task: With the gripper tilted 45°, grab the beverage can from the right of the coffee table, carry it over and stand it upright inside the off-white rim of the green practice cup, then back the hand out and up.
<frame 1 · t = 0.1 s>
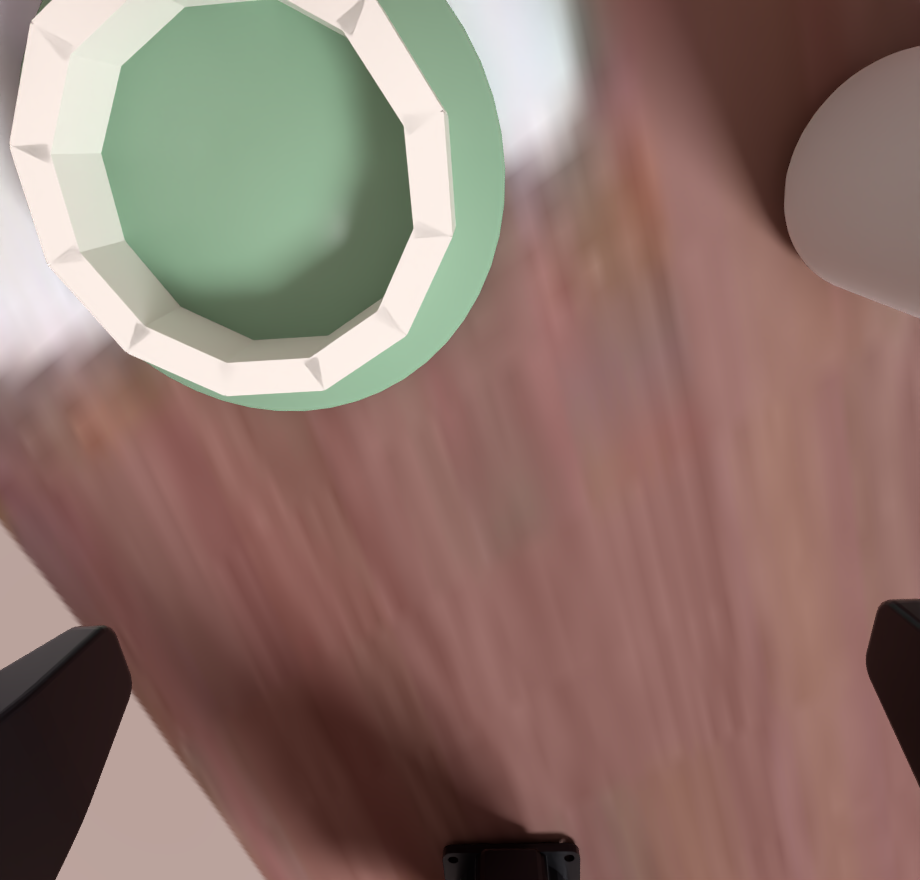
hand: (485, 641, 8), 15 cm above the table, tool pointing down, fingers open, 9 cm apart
beverage can: (882, 176, 19), on the table
practice cup: (269, 185, 19), on the table
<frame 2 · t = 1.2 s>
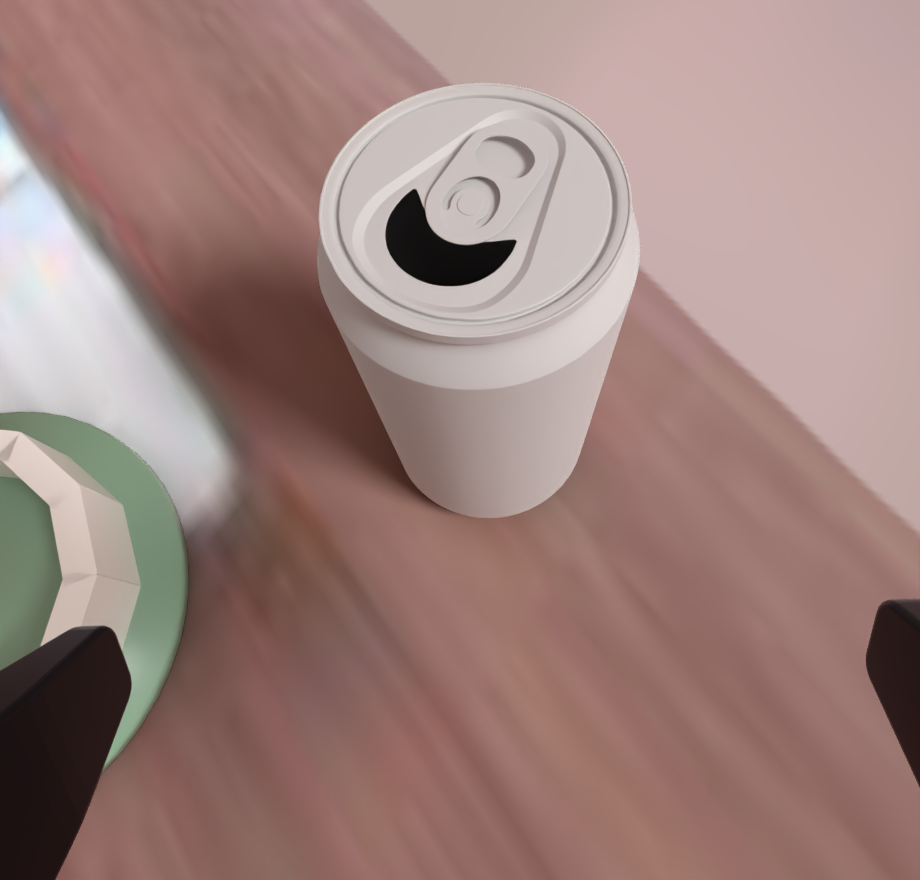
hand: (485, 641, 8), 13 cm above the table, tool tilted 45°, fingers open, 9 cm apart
beverage can: (489, 436, 23), on the table
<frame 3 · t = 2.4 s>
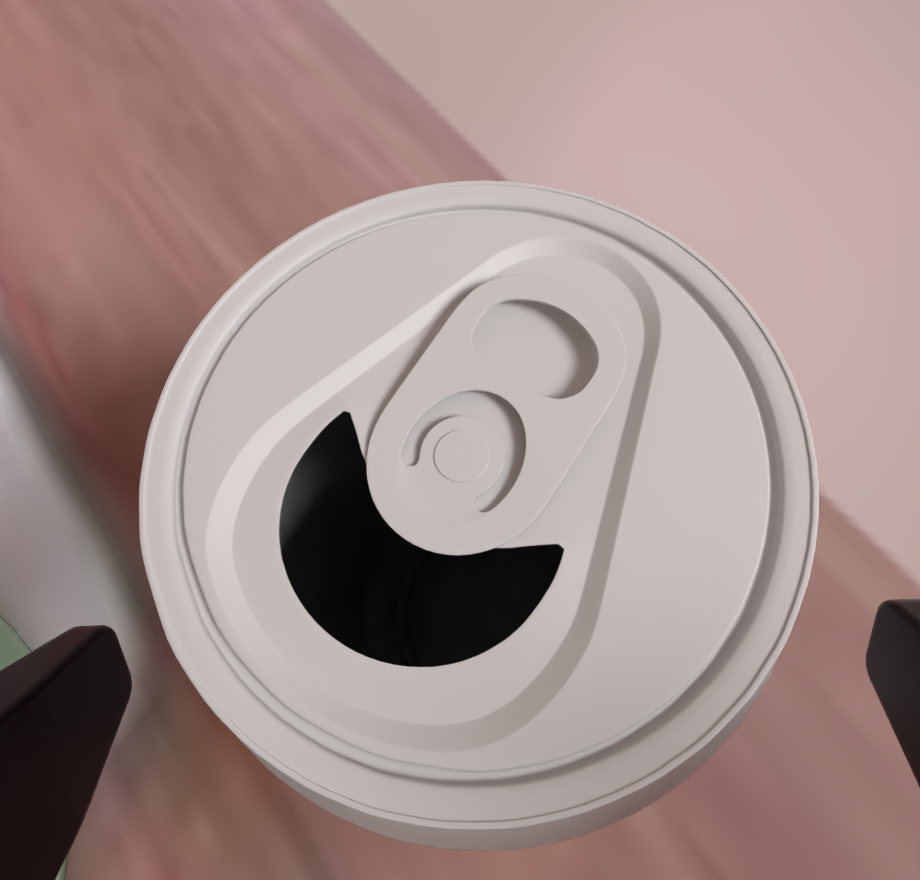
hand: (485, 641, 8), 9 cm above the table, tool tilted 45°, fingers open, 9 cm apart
beverage can: (494, 608, 17), on the table
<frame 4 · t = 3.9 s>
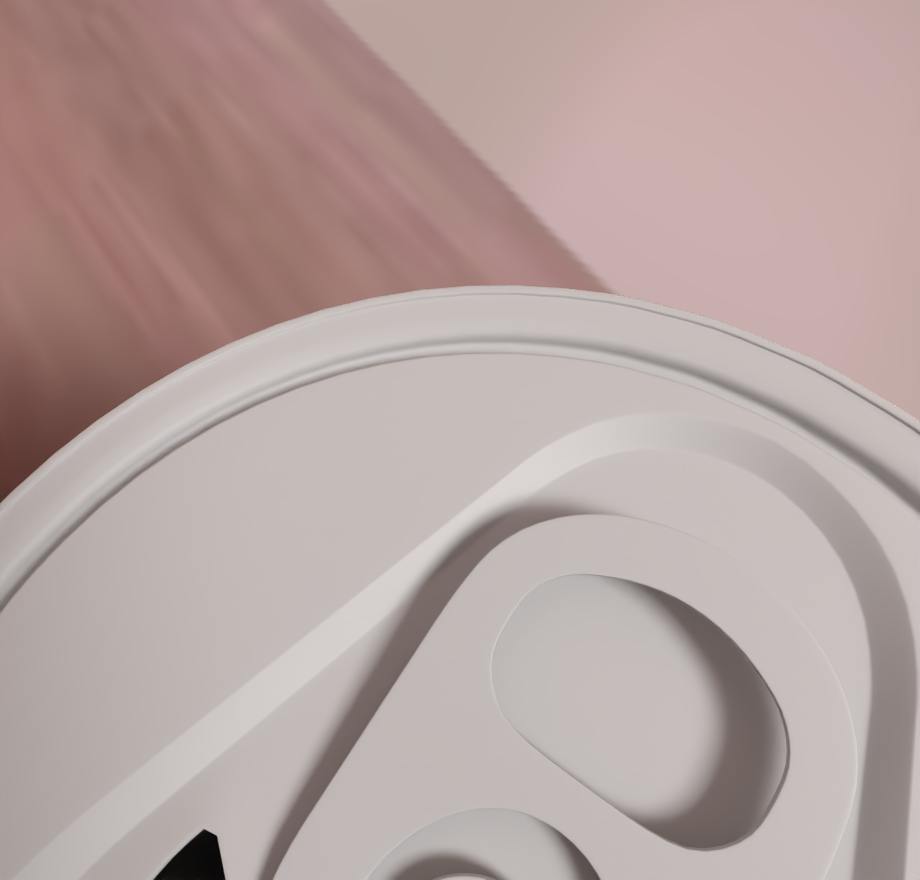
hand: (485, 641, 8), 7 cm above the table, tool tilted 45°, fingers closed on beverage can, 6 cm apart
beverage can: (502, 729, 14), on the table, touching gripper
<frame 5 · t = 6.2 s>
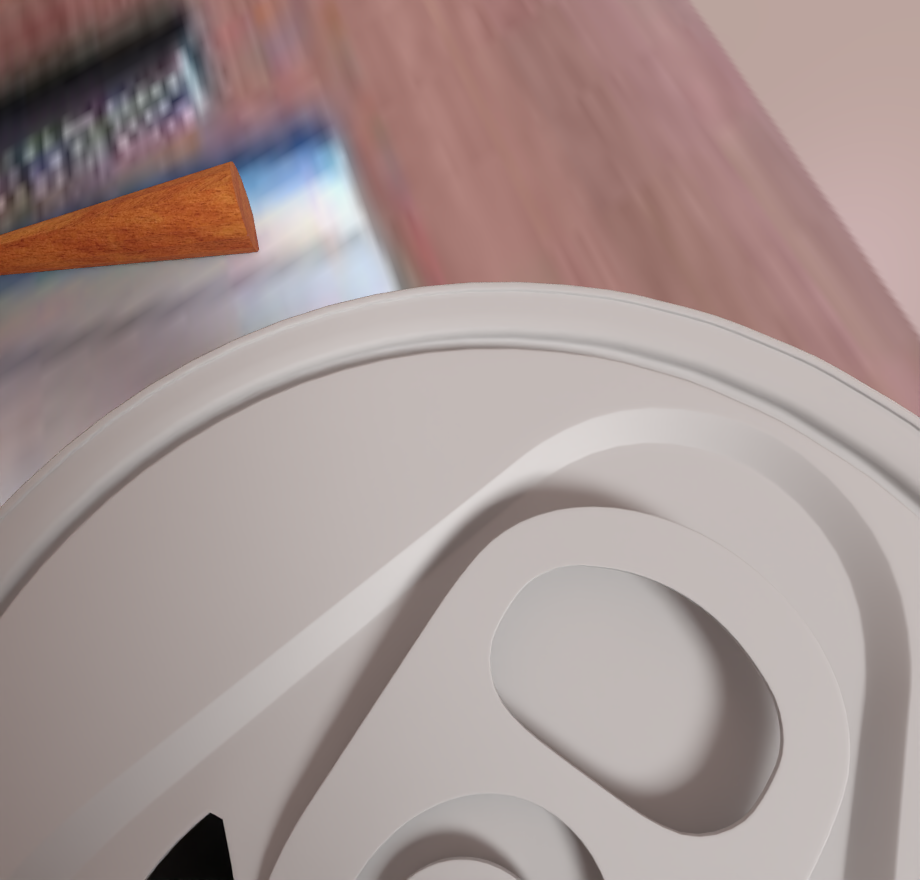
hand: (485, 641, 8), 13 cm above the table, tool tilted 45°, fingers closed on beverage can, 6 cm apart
beverage can: (507, 725, 14), point 6 cm above the table, touching gripper
kendama: (24, 299, 26), on the table
when the fingers open (8 cm above the table, at t = 8.3 s): beverage can drops 1 cm, resting on practice cup.
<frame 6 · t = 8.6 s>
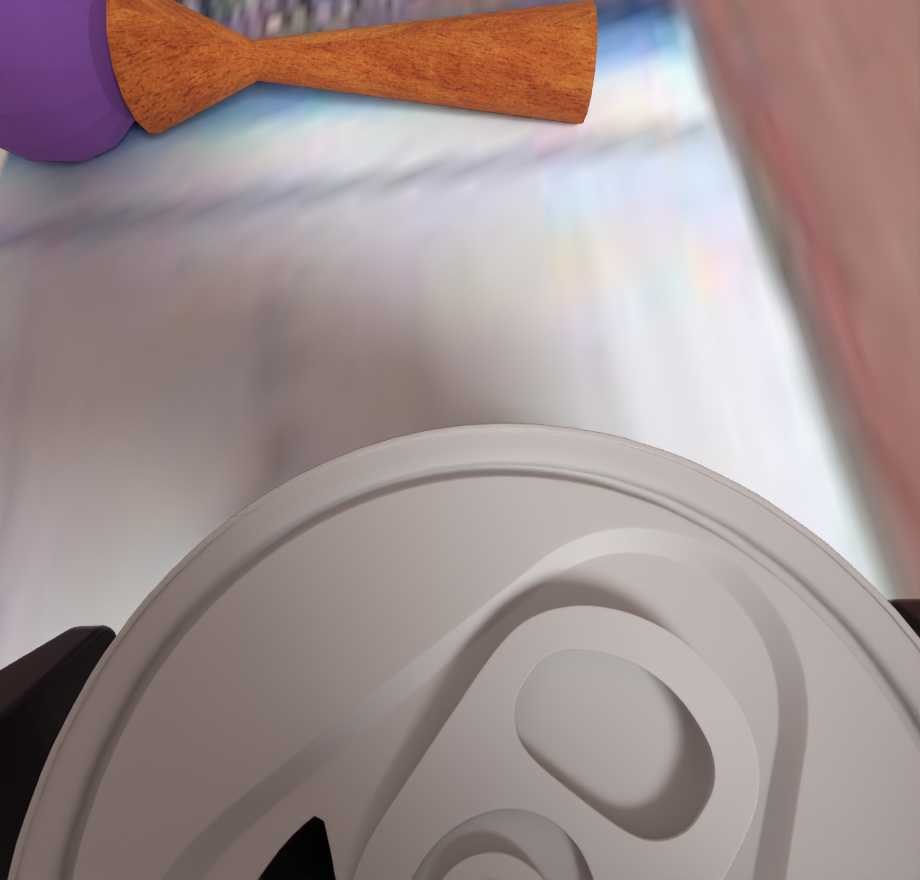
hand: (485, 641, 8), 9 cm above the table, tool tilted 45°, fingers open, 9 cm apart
beverage can: (509, 734, 15), resting on practice cup
kendama: (291, 128, 23), on the table
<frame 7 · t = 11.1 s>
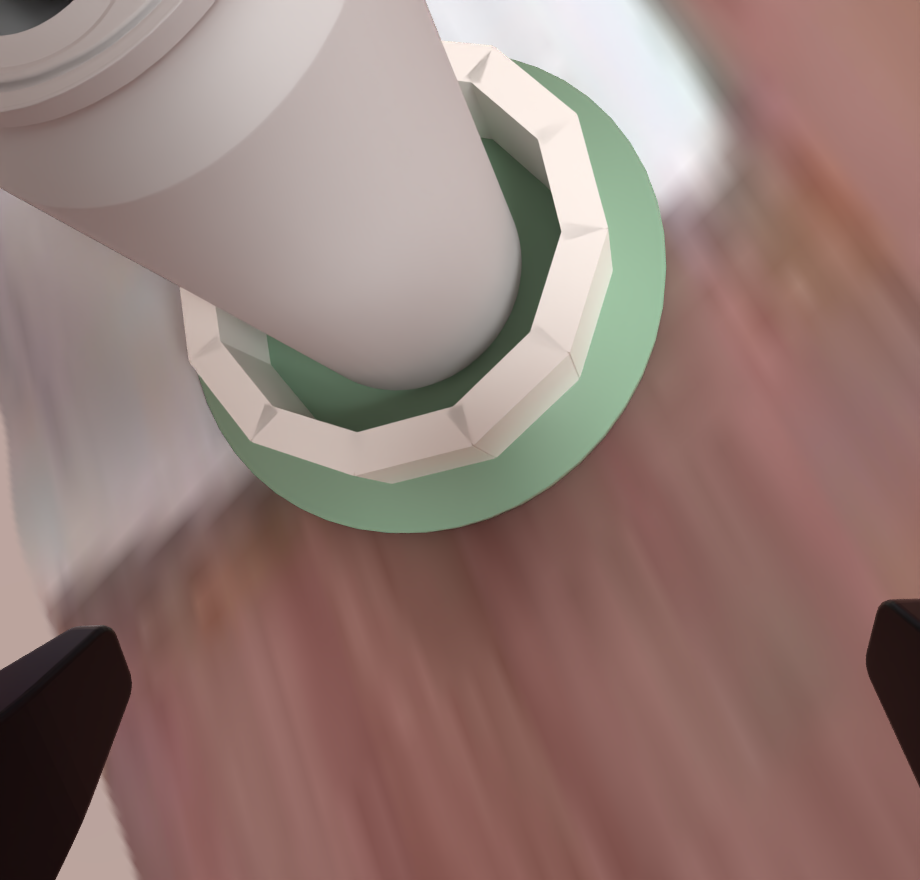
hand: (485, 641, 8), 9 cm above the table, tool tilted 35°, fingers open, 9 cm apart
beverage can: (417, 287, 18), resting on practice cup
practice cup: (412, 289, 19), on the table
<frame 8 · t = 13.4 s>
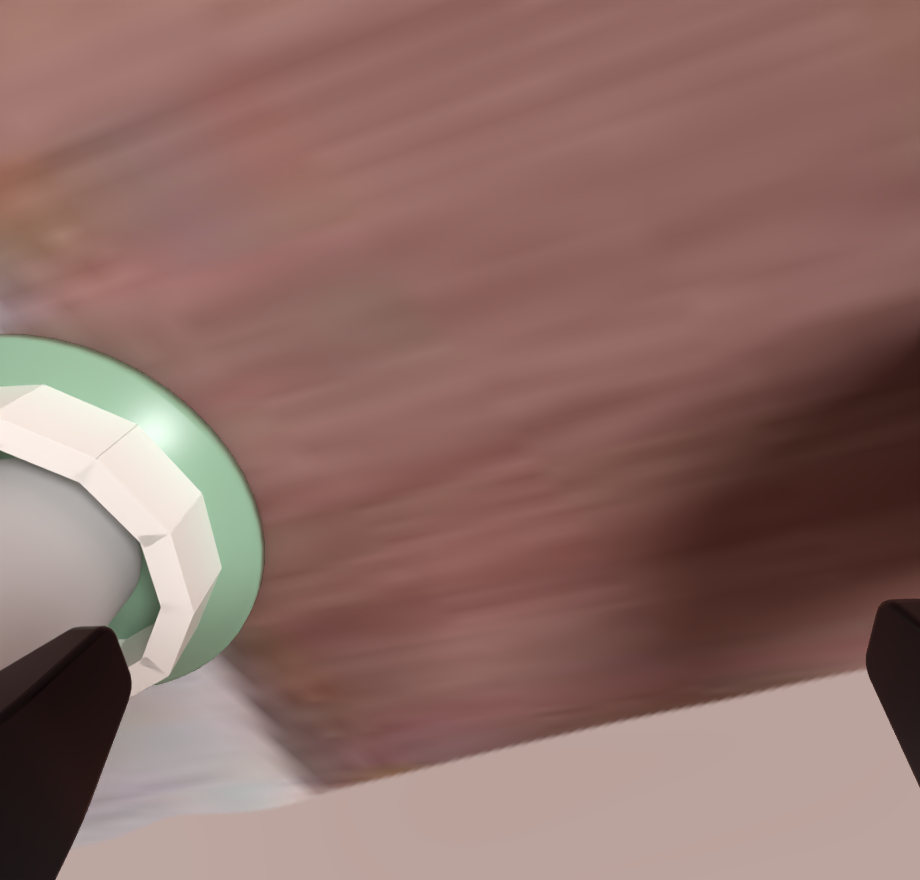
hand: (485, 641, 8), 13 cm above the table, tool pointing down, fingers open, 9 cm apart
beverage can: (61, 528, 22), resting on practice cup
practice cup: (65, 528, 23), on the table
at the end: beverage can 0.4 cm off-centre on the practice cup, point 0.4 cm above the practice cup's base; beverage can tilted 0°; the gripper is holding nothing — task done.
